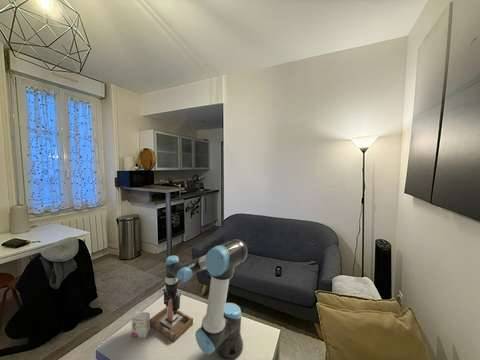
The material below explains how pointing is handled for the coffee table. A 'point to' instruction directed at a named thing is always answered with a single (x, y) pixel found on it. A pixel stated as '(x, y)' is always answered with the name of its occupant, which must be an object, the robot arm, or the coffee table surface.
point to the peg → (170, 311)
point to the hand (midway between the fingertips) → (171, 317)
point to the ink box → (140, 324)
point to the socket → (173, 325)
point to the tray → (166, 332)
